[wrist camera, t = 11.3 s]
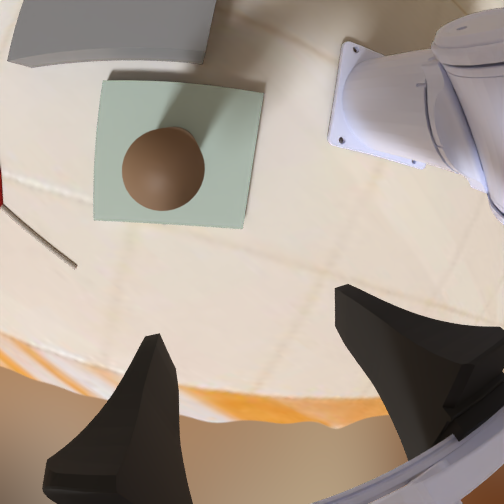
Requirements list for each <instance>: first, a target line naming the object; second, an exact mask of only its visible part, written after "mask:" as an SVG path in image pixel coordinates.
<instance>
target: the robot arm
mask: <svg viewBox="0 0 504 504" xmlns="http://www.w3.org/2000/svg"><path fill="white" fill-rule="evenodd" d="M353 47H354V48H355V49H356V51H357V52H356V53H355V52H354V51H353ZM340 137H342V138H343V142H342V143H340V142H339V138H340ZM327 140H328V142H329V143H330V144H331V145H333V146H338V147H342V148H346V149H350V150H354V151H358V152H362V153H366V154H370V155H374V156H377V157H381V158H385V159H388V160H392V161H395V162H398V163H402V164H405V165H408V166H412V167H415V168H418V169H424V168H425V166H426V164H429V165H432V166H435V167H439V168H442V169H445V170H448V171H451V172H454V173H458V174H461V175H463V176H464V177H466V179H467V180H468V181H469V183H470V186H471V188H474V189H476V190H479V191H482V192H484V193H487V196H488V201H489V205H490V208H491V210H492V212H493V214H494V215H495V217H496V218H497V219H498V220H499V221H500V222H501V223H502V224H503V225H504V8H496V9H489V10H484V11H480V12H476V13H472V14H469V15H466V16H463V17H460V18H458V19H455V20H453V21H451V22H449V23H447V24H445V25H444V26H442V27H441V28H439V29H438V30H437V32H436V35H435V38H434V41H433V42H432V44H431V48H430V49H423V50H417V51H410V52H405V53H399V54H394V55H389V56H384V55H382V54H380V53H378V52H375V51H373V50H371V49H368V48H366V47H363V46H361V45H358V44H356V43H353V42H350V41H347V42H344V43H343V44H342V47H341V54H340V62H339V69H338V76H337V82H336V89H335V95H334V102H333V108H332V114H331V120H330V126H329V131H328V137H327ZM412 160H413V163H412ZM335 327H336V329H337V331H338V333H339V335H340V337H341V338H342V340H343V342H344V344H345V346H346V347H347V348H348V350H349V351H350V353H351V354H352V355H353V357H354V358H355V360H356V361H357V362H358V364H359V365H360V367H361V368H362V369H363V371H364V372H365V373H366V375H367V376H368V378H369V379H370V380H371V382H372V383H373V385H374V387H375V388H376V390H377V392H378V394H379V395H380V397H381V399H382V401H383V403H384V405H385V407H386V409H387V411H388V413H389V415H390V417H391V419H392V421H393V423H394V426H395V428H396V430H397V433H398V435H399V437H400V439H401V442H402V445H403V447H404V450H405V453H406V455H407V458H408V462H406V463H404V464H403V465H401V466H399V467H397V468H395V469H393V470H391V471H389V472H387V473H385V474H383V475H381V476H379V477H377V478H375V479H372V480H370V481H368V482H366V483H364V484H361V485H359V486H357V487H354V488H352V489H349V490H347V491H345V492H342V493H339V494H337V495H334V496H331V497H329V498H326V499H323V500H320V501H317V502H314V503H311V504H368V503H370V502H372V503H370V504H463V503H462V502H461V500H460V499H462V498H463V497H465V496H466V495H467V494H469V493H470V492H471V491H472V490H474V489H475V488H476V487H477V486H479V485H480V484H481V483H482V482H484V481H485V480H486V479H487V478H488V477H489V476H491V475H492V474H493V473H494V472H495V471H496V470H497V469H499V468H500V467H501V466H502V465H503V464H504V373H503V372H502V370H503V369H504V330H503V329H502V328H501V327H482V326H469V325H461V324H454V323H449V322H444V321H439V320H435V319H431V318H428V317H425V316H421V315H418V314H415V313H412V312H409V311H407V310H404V309H402V308H399V307H397V306H394V305H392V304H390V303H388V302H385V301H383V300H381V299H379V298H377V297H375V296H373V295H370V294H368V293H366V292H364V291H362V290H360V289H358V288H356V287H354V286H351V285H349V284H346V285H343V286H340V287H337V288H335ZM405 485H407V486H405ZM403 486H405V487H403ZM401 487H403V488H401ZM399 488H401V489H399ZM42 489H43V492H44V494H45V495H46V496H47V497H48V498H49V499H51V500H52V501H54V502H55V503H57V504H193V503H192V499H191V495H190V491H189V487H188V483H187V478H186V473H185V468H184V463H183V458H182V452H181V446H180V431H179V389H178V381H177V374H176V368H175V366H174V364H173V362H172V360H171V358H170V356H169V353H168V351H167V349H166V347H165V345H164V342H163V340H162V338H161V336H160V333H159V334H154V335H150V336H145V338H144V340H143V341H142V343H141V345H140V347H139V349H138V351H137V353H136V355H135V356H134V358H133V360H132V362H131V364H130V366H129V368H128V369H127V371H126V373H125V375H124V377H123V378H122V380H121V382H120V383H119V385H118V386H117V388H116V390H115V391H114V393H113V394H112V396H111V397H110V399H109V400H108V401H107V403H106V404H105V405H104V407H103V408H102V409H101V411H100V412H99V413H98V414H97V415H96V416H95V418H94V419H93V420H92V421H91V422H90V423H89V424H88V426H87V427H86V428H85V429H84V430H83V431H82V432H81V433H80V434H79V435H78V436H77V437H76V438H74V439H73V440H72V441H71V442H70V443H69V444H67V445H66V446H65V447H64V448H63V449H61V450H60V451H58V452H57V453H56V454H55V455H53V456H52V457H50V458H49V459H48V460H47V463H46V469H45V475H44V481H43V488H42ZM397 489H399V490H397ZM395 490H396V491H395ZM393 491H395V492H393ZM391 492H393V493H391ZM389 493H391V494H389ZM387 494H389V495H387ZM385 495H387V496H385ZM383 496H385V497H383ZM381 497H383V498H381ZM379 498H380V499H379ZM377 499H378V500H377ZM375 500H376V501H375ZM373 501H374V502H373Z"/></svg>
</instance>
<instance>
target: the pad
mask: <svg viewBox="0 0 504 504" xmlns="http://www.w3.org/2000/svg"><path fill="white" fill-rule="evenodd" d="M263 96H264V93H259V92H254V91H248V90H241V89H234V88H227V87H220V86H211V85H202V84H192V83H180V82H164V81H138V80H107V81H103V83H102V90H101V97H100V104H99V113H98V122H97V132H96V145H95V161H94V192H93V213H94V220H99V221H119V222H138V223H156V224H173V225H189V226H204V227H219V228H233V229H243V224H244V217H245V211H246V204H247V197H248V191H249V184H250V178H251V171H252V165H253V158H254V152H255V146H256V139H257V133H258V127H259V120H260V114H261V108H262V102H263ZM173 126H174V127H181V128H184V129H186V130H187V131H189V132H190V133H191V134H192V135H193V136H194V138H195V140H196V142H197V144H198V146H199V148H200V150H201V152H202V155H203V158H204V163H205V174H204V179H203V182H202V185H201V187H200V189H199V191H198V192H197V194H196V195H195V196H194V197H193V198H192V199H191V200H190V201H189V202H188V203H186V204H185V205H183V206H181V207H179V208H176V209H173V210H169V211H156V210H151V209H148V208H146V207H143V206H142V205H140V204H139V203H137V202H136V201H135V200H134V199H133V198H132V197H131V196H130V194H129V193H128V191H127V190H126V188H125V185H124V182H123V178H122V164H123V160H124V156H125V154H126V152H127V150H128V148H129V147H130V146H131V144H132V143H133V142H134V141H135V140H136V139H137V138H138V137H140V136H141V135H143V134H145V133H146V132H149V131H151V130H155V129H160V128H166V127H173Z"/></svg>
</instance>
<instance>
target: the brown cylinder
mask: <svg viewBox="0 0 504 504" xmlns="http://www.w3.org/2000/svg"><path fill="white" fill-rule="evenodd" d="M204 174H205V163H204V158H203V155H202V152H201V150H200V148H199V146H198V144H197V142H196V140H195V138H194V136H193V135H192V134H191V133H190V132H189V131H187V130H186V129H184V128H181V127H174V126H173V127H166V128H160V129H155V130H151V131H149V132H146V133H145V134H143V135H141V136H140V137H138V138H137V139H136V140H135V141H134V142H133V143H132V144H131V146H130V147H129V148H128V150H127V152H126V154H125V156H124V160H123V164H122V178H123V182H124V185H125V188H126V190H127V191H128V193H129V194H130V196H131V197H132V198H133V199H134V200H135V201H136V202H137V203H139V204H140V205H142V206H143V207H146V208H148V209H151V210H156V211H169V210H173V209H176V208H179V207H181V206H183V205H185V204H186V203H188V202H189V201H190V200H191V199H192V198H193V197H194V196H195V195H196V194H197V192H198V191H199V189H200V187H201V185H202V182H203V179H204Z"/></svg>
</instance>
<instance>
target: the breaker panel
mask: <svg viewBox="0 0 504 504" xmlns="http://www.w3.org/2000/svg"><path fill="white" fill-rule="evenodd" d="M215 4H216V0H24V1H23V4H22V7H21V10H20V13H19V16H18V20H17V23H16V27H15V30H14V34H13V38H12V42H11V46H10V51H9V55H8V60H7V61H8V62H12V63H16V64H20V65H24V66H28V67H31V68H33V67H40V66H47V65H55V64H64V63H75V62H88V61H108V60H151V61H172V62H186V63H197V64H202V63H203V59H204V56H205V52H206V47H207V42H208V37H209V32H210V27H211V22H212V18H213V13H214V9H215Z"/></svg>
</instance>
